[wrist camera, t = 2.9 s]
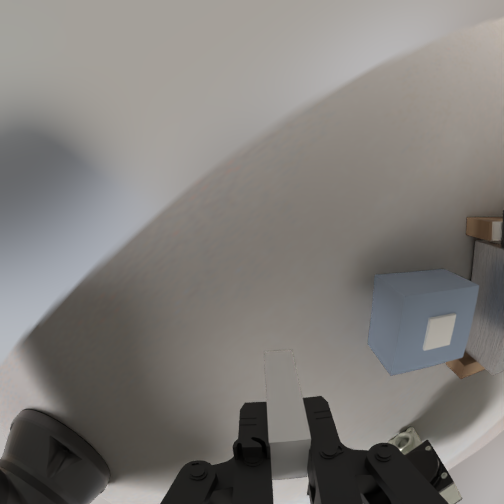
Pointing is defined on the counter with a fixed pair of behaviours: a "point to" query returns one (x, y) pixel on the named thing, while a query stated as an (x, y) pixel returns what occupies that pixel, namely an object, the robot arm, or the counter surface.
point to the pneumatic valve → (427, 463)
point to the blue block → (420, 318)
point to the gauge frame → (488, 231)
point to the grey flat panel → (488, 306)
